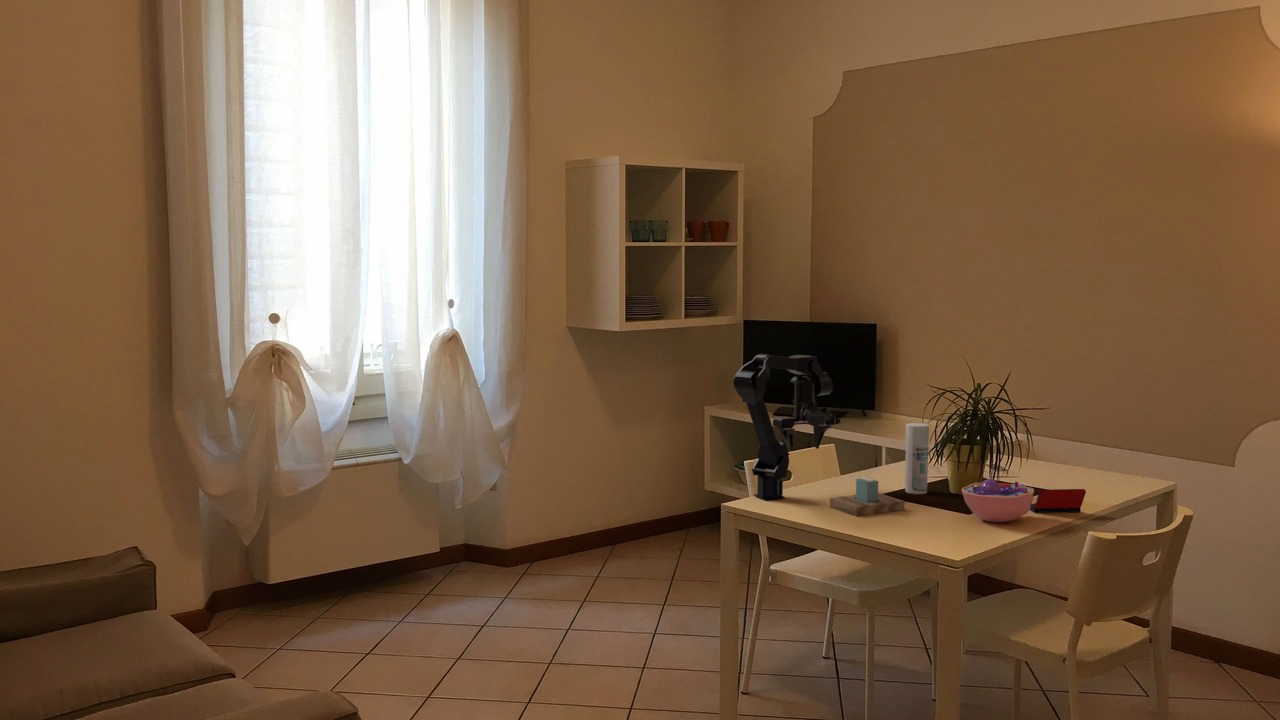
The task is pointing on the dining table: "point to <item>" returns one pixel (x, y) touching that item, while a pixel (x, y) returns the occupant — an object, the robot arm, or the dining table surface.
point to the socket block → (867, 505)
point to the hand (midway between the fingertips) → (803, 449)
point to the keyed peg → (866, 490)
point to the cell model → (998, 500)
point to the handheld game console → (1059, 501)
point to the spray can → (916, 458)
